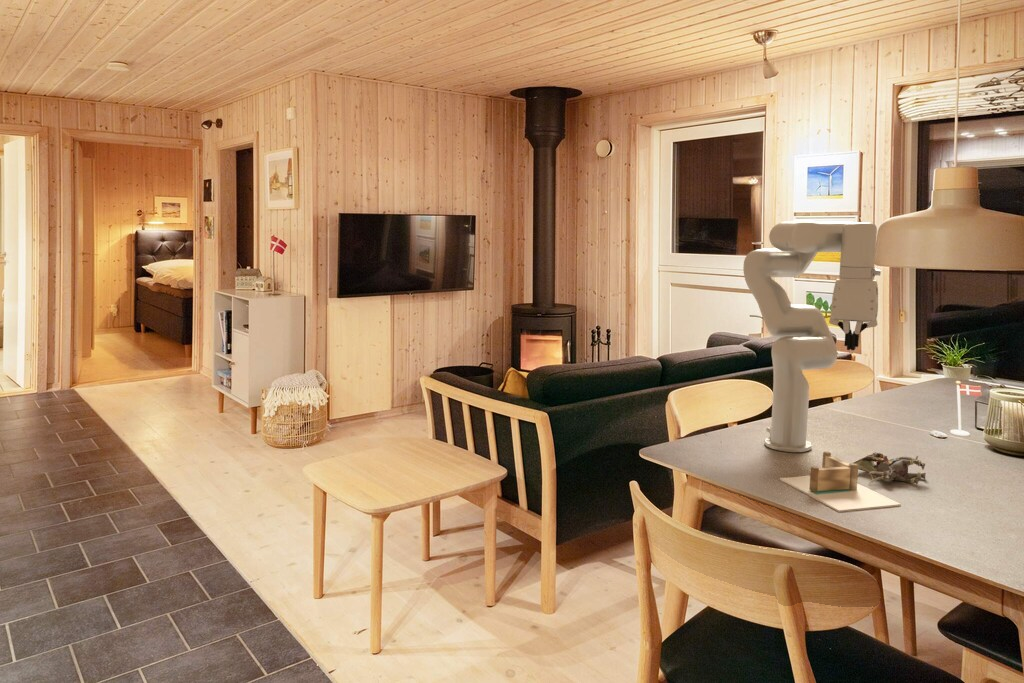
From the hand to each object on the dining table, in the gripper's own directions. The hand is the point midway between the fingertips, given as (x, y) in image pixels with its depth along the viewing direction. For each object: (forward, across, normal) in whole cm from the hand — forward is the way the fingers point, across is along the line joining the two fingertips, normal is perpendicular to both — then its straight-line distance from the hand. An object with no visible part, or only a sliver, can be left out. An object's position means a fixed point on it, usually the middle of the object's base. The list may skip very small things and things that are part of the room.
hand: (851, 349), depth 185 cm
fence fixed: (+32, 0, +7) cm, 33 cm away
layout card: (+32, -1, +13) cm, 35 cm away
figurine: (+33, -9, -5) cm, 34 cm away
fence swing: (+31, +1, +15) cm, 35 cm away
